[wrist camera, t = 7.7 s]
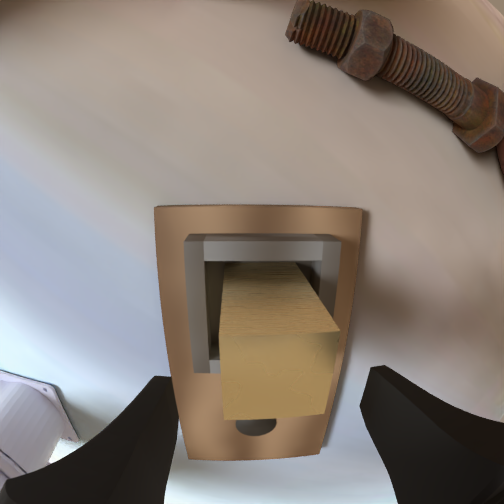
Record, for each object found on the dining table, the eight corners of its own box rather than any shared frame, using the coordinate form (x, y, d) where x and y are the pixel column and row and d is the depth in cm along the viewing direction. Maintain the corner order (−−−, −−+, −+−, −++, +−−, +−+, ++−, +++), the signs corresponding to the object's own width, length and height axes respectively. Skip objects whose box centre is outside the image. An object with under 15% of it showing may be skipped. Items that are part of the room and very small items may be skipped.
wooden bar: (226, 324, 18) (223, 420, 10) (225, 262, 17) (219, 335, 9) (291, 323, 18) (324, 413, 10) (295, 262, 17) (340, 331, 9)
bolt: (285, 35, 16) (458, 117, 18) (272, 73, 15) (469, 164, 16) (308, -31, 11) (500, 78, 12) (298, -8, 9) (522, 126, 11)
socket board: (189, 451, 22) (186, 475, 20) (158, 205, 17) (143, 212, 14) (316, 446, 23) (323, 469, 20) (355, 207, 18) (377, 214, 15)
